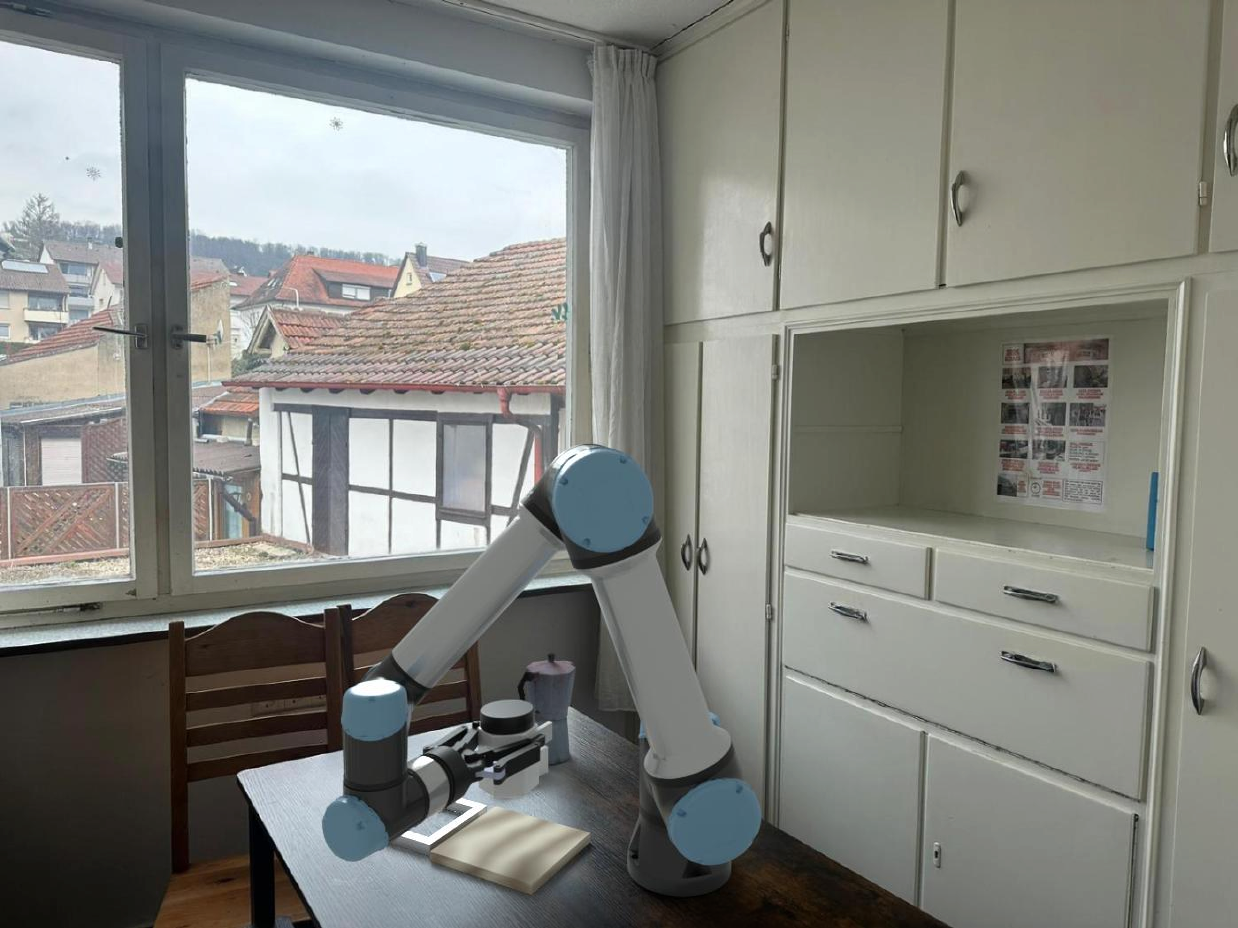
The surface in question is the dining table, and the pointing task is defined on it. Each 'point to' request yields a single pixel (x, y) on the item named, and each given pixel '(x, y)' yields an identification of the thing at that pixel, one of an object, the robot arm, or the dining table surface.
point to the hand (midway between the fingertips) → (529, 725)
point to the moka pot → (551, 700)
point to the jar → (505, 727)
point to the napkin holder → (543, 761)
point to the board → (511, 849)
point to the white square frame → (426, 844)
